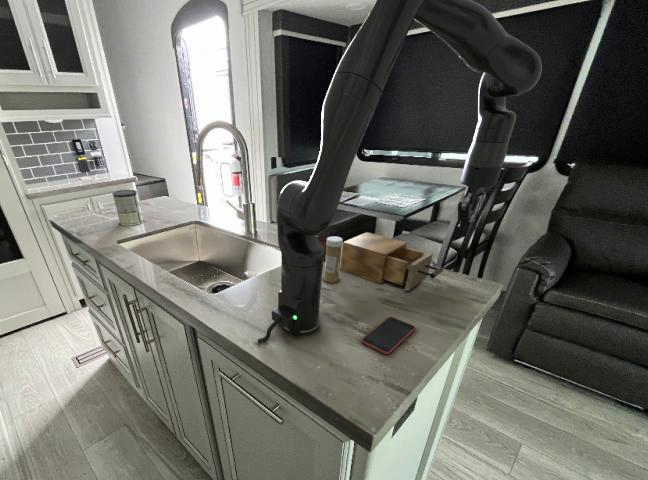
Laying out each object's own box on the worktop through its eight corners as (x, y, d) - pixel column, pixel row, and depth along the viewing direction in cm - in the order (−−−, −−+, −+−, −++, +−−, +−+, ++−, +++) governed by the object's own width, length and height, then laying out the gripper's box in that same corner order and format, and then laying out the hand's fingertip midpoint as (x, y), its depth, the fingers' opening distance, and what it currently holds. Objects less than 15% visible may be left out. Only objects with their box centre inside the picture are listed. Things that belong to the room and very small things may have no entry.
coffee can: (117, 222, 154) (109, 191, 147) (138, 218, 160) (132, 188, 153) (124, 227, 148) (116, 195, 140) (146, 222, 153) (139, 192, 146)
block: (418, 273, 99) (421, 261, 97) (406, 282, 94) (409, 269, 92) (403, 268, 102) (405, 257, 100) (390, 276, 97) (393, 264, 95)
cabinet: (401, 270, 106) (407, 242, 101) (380, 284, 98) (385, 254, 93) (362, 258, 115) (366, 232, 110) (340, 269, 107) (343, 242, 102)
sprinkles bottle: (341, 280, 100) (346, 239, 93) (330, 284, 97) (334, 242, 91) (331, 275, 103) (335, 234, 96) (320, 278, 101) (323, 237, 94)
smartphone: (359, 339, 73) (389, 315, 81) (359, 341, 73) (389, 317, 81) (388, 354, 68) (417, 326, 77) (387, 356, 69) (416, 328, 77)
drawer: (443, 281, 97) (450, 257, 93) (425, 296, 89) (432, 270, 85) (387, 264, 108) (391, 241, 104) (367, 275, 100) (370, 252, 97)
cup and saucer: (338, 263, 111) (339, 246, 108) (303, 259, 114) (304, 243, 111) (340, 250, 121) (342, 234, 118) (309, 247, 124) (310, 232, 120)
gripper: (475, 158, 80) (456, 226, 89) (456, 164, 72) (436, 238, 81) (510, 161, 76) (486, 232, 85) (493, 168, 68) (469, 245, 77)
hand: (462, 235), depth 83 cm, fingers closed
